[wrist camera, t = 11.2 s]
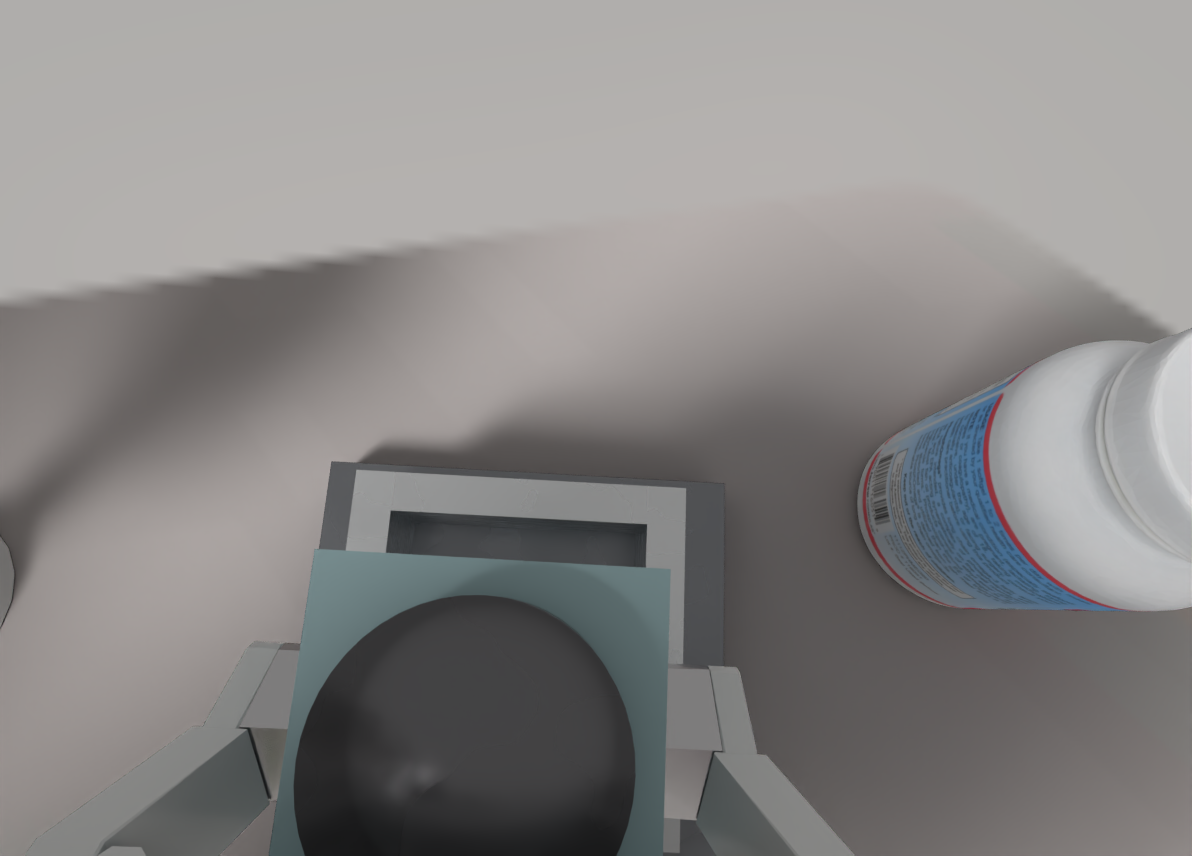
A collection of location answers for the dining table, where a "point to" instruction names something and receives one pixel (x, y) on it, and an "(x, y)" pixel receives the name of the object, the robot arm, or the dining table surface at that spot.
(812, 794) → the dining table surface
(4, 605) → the chalice
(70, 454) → the dining table surface
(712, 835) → the robot arm
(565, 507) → the plate
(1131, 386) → the pill bottle
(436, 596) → the teal block with dome
